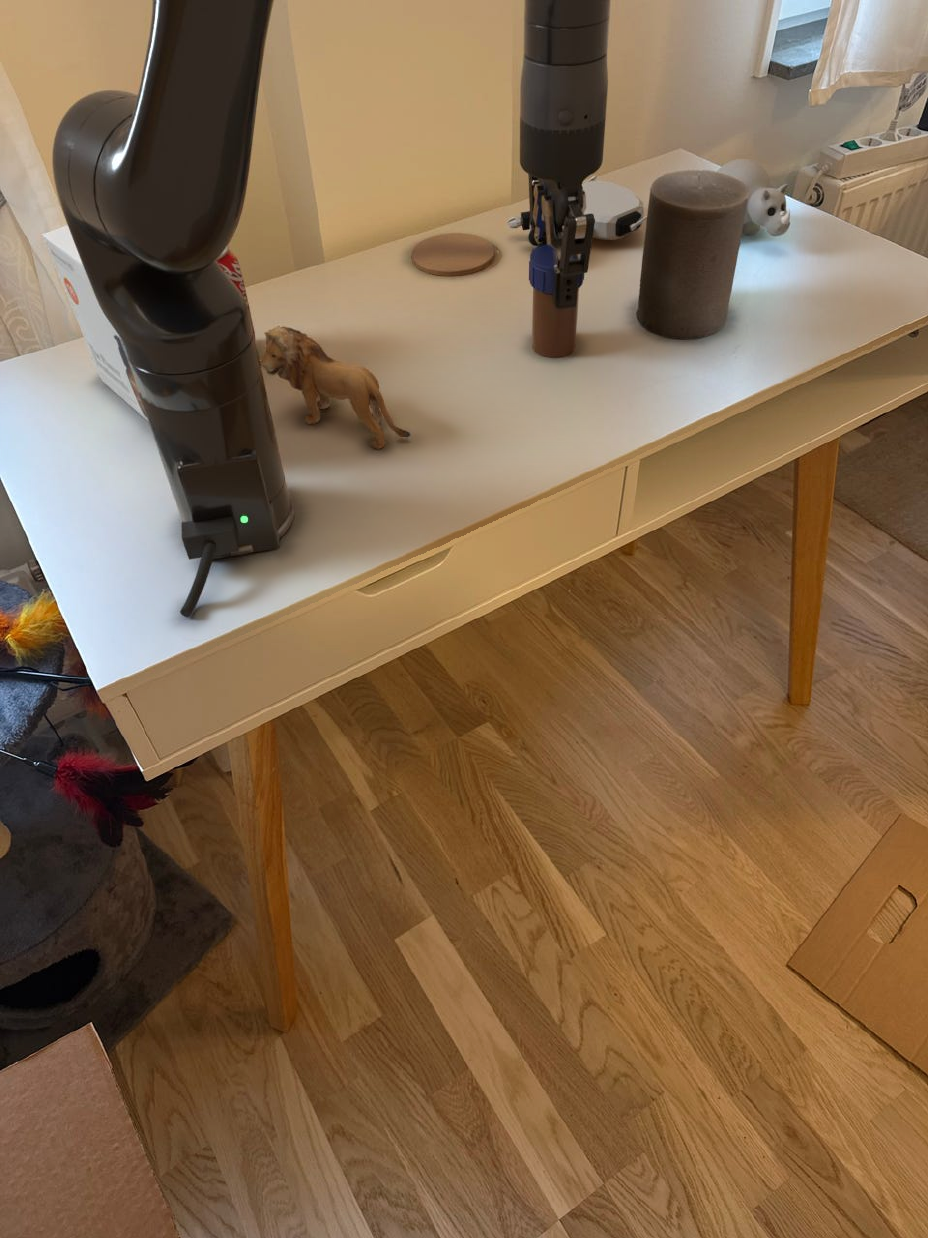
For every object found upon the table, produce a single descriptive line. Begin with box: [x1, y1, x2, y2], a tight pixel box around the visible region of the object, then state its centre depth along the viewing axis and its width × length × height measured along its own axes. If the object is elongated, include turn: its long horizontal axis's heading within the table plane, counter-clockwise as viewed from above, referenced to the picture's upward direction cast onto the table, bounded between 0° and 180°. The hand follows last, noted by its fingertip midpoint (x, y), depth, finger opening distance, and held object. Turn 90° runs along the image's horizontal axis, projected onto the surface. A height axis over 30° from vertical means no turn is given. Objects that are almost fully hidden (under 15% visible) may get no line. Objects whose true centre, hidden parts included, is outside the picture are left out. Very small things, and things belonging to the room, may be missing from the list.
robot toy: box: [507, 175, 647, 247], centre depth 113 cm, size 12×4×15 cm
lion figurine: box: [259, 325, 412, 450], centre depth 87 cm, size 15×5×9 cm, turn 66°
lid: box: [528, 244, 585, 294], centre depth 92 cm, size 5×5×3 cm
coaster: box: [411, 232, 495, 277], centre depth 113 cm, size 10×10×1 cm
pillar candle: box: [636, 169, 751, 340], centre depth 96 cm, size 10×10×15 cm
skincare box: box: [42, 224, 148, 422], centre depth 86 cm, size 21×6×16 cm, turn 42°
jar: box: [531, 287, 580, 358], centre depth 95 cm, size 5×5×9 cm
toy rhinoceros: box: [716, 158, 791, 237], centre depth 110 cm, size 7×12×8 cm, turn 29°
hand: (555, 291), depth 94 cm, fingers closed on lid, 5 cm apart
